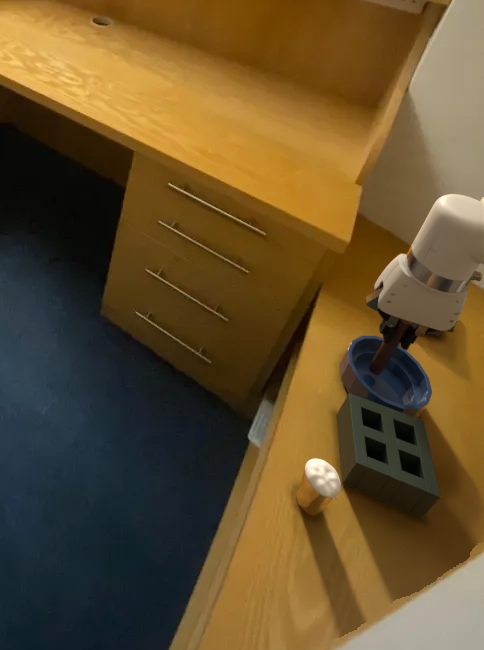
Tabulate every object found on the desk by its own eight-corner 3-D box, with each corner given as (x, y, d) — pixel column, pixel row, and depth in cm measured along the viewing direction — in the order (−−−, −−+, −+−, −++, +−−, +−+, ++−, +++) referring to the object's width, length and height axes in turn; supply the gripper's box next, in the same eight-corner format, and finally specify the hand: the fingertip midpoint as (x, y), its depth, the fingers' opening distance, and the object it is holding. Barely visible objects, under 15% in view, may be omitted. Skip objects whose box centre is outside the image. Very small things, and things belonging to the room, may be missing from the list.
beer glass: (298, 525, 73) (317, 495, 68) (287, 480, 78) (304, 449, 73) (331, 531, 73) (352, 501, 68) (318, 485, 78) (337, 454, 73)
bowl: (411, 368, 92) (422, 351, 90) (426, 439, 83) (439, 422, 80) (336, 342, 97) (345, 325, 94) (342, 407, 87) (352, 390, 84)
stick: (380, 367, 91) (410, 316, 83) (381, 377, 89) (413, 326, 82) (367, 362, 91) (397, 311, 84) (369, 372, 90) (399, 322, 82)
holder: (407, 442, 82) (424, 420, 79) (421, 518, 74) (440, 497, 71) (336, 414, 86) (348, 392, 82) (342, 484, 78) (356, 462, 74)
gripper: (492, 265, 77) (443, 336, 86) (372, 232, 82) (338, 302, 91) (510, 307, 71) (455, 379, 80) (379, 268, 76) (342, 340, 85)
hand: (393, 338), depth 85 cm, fingers closed on stick, 2 cm apart
